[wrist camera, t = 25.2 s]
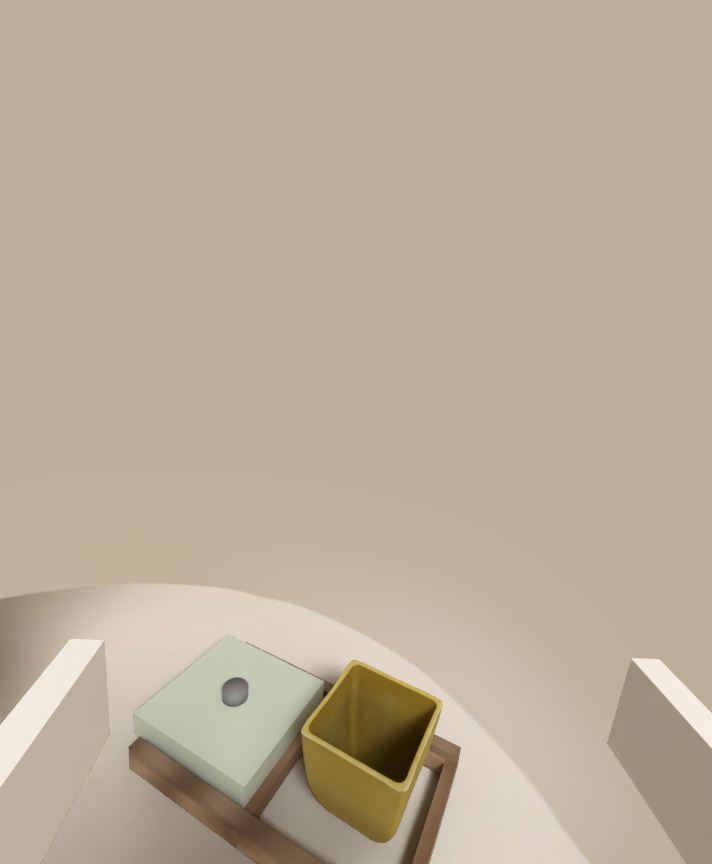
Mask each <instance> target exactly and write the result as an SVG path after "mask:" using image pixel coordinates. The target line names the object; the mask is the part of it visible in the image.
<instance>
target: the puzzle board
mask: <svg viewBox="0 0 712 864" xmlns="http://www.w3.org/2000/svg"><path fill="white" fill-rule="evenodd" d="M246 643H247V642H246ZM248 644H249V643H248ZM250 645H251V644H250ZM252 646H253V645H252ZM254 647H255V646H254ZM256 648H257V647H256ZM258 649H259V648H258ZM260 650H261V649H260ZM262 651H263V650H262ZM264 652H265V651H264ZM266 653H267V652H266ZM268 654H269V653H268ZM270 655H272V654H270ZM272 656H274V655H272ZM274 657H276V656H274ZM276 658H278V657H276ZM278 659H280V658H278ZM280 660H282V659H280ZM282 661H284V660H282ZM284 662H286V661H284ZM286 663H288V662H286ZM288 664H290V663H288ZM290 665H292V664H290ZM292 666H294V665H292ZM294 667H296V666H294ZM296 668H298V667H296ZM298 669H300V668H298ZM300 670H302V669H300ZM302 671H304V670H302ZM304 672H306V671H304ZM306 673H308V672H306ZM308 674H310V673H308ZM311 675H312V674H311ZM313 676H314V675H313ZM315 677H316V676H315ZM317 678H318V677H317ZM319 679H320V678H319ZM321 680H322V679H321ZM323 681H324V680H323ZM333 686H334V685H333V684H331V683H329V682H326V681H324V691H323V699H324V698H325V697H326V696H327V694H328V693H329V692H330V690H331V689H332V687H333ZM322 701H323V700H322ZM322 701H321V702H322ZM321 702H320V703H321ZM318 706H319V705H318ZM460 749H461V747H459V746H457V745H455V744H453V743H451V742H449V741H447V740H445V739H443V738H441V737H438V736H436V735H434V736H433V739H432V742H431V745H430V748H429V751H428V754H427V756H426V759H425V761H424V763H423V766H425V767H427V768H429V769H431V770H433V771H434V772H436V773H438V774H440V778H439V781H438V785H437V788H436V791H435V794H434V797H433V800H432V803H431V806H430V809H429V813H428V816H427V819H426V822H425V825H424V828H423V831H422V834H421V837H420V840H419V844H418V847H417V850H416V853H415V856H414V859H413V862H412V864H429V863H430V860H431V856H432V853H433V849H434V846H435V842H436V839H437V835H438V832H439V828H440V825H441V822H442V818H443V815H444V811H445V808H446V804H447V801H448V797H449V794H450V790H451V787H452V783H453V780H454V777H455V773H456V770H457V766H458V760H459V755H460ZM302 753H303V749H302V737H301V730H300V731H299V733H298V734H297V736H296V737H295V738H294V740H293V741H292V742H291V744H290V745H289V747H288V748H287V749H286V751H285V752H284V754H283V755H282V756H281V758H280V759H279V760H278V762H277V763H276V765H275V766H274V767H273V769H272V770H271V772H270V773H269V774H268V776H267V777H266V778H265V780H264V781H263V783H262V784H261V785H260V787H259V788H258V790H257V791H256V792H255V794H254V795H253V796H252V798H251V799H250V801H249V802H248V803H247V805H246V806H245V808H244V809H243V808H242V807H240V806H239V805H237V804H236V803H235V802H233V801H232V800H230V799H229V798H227V797H226V796H224V795H223V794H222V793H220V792H219V791H217V790H216V789H214V788H213V787H212V786H210V785H209V784H207V783H206V782H204V781H203V780H201V779H200V778H199V777H197V776H196V775H194V774H193V773H191V772H190V771H189V770H187V769H186V768H184V767H183V766H181V765H180V764H178V763H177V762H176V761H174V760H173V759H171V758H170V757H168V756H167V755H166V754H164V753H163V752H161V751H160V750H158V749H157V748H155V747H154V746H153V745H151V744H150V743H148V742H147V741H145V740H144V739H142V738H141V737H139V738H138V739H137V740H136V741H135V742H134V743H133V744H132V745H131V746H129V765H130V769H131V770H133V771H134V772H135V773H137V774H138V775H139V776H141V777H142V778H143V779H145V780H146V781H147V782H149V783H150V784H151V785H153V786H154V787H155V788H157V789H158V790H159V791H161V792H162V793H163V794H165V795H166V796H167V797H169V798H170V799H171V800H173V801H174V802H175V803H177V804H178V805H179V806H181V807H182V808H183V809H185V810H186V811H187V812H189V813H190V814H191V815H193V816H194V817H195V818H197V819H198V820H199V821H201V822H202V823H203V824H205V825H206V826H207V827H209V828H210V829H211V830H213V831H214V832H215V833H217V834H218V835H219V836H221V837H222V838H223V839H225V840H226V841H227V842H229V843H230V844H231V845H233V846H234V847H235V848H237V849H238V850H239V851H241V852H242V853H243V854H245V855H246V856H247V857H249V858H250V859H251V860H253V861H254V862H255V863H257V864H322V863H321V862H319V861H318V860H316V859H315V858H313V857H312V856H310V855H309V854H308V853H306V852H305V851H303V850H302V849H300V848H299V847H298V846H296V845H295V844H293V843H292V842H290V841H289V840H287V839H286V838H285V837H283V836H282V835H280V834H279V833H277V832H276V831H275V830H273V829H272V828H270V827H269V826H267V825H266V824H264V823H263V822H262V821H260V820H259V819H258V818H259V817H260V815H261V814H262V812H263V811H264V809H265V808H266V806H267V805H268V803H269V802H270V800H271V799H272V797H273V796H274V794H275V793H276V791H277V790H278V789H279V787H280V786H281V784H282V783H283V781H284V780H285V778H286V777H287V775H288V774H289V772H290V771H291V769H292V768H293V766H294V765H295V763H296V762H297V760H298V759H299V757H300V756H301V755H302Z"/></svg>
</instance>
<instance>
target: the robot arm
mask: <svg viewBox="0 0 712 864" xmlns="http://www.w3.org/2000/svg"><path fill="white" fill-rule="evenodd" d="M109 734H110V729H109V712H108V694H107V676H106V659H105V641H104V640H86V639H70V640H69V641H68V643H67V644H66V645H65V646H64V648H63V649H62V650H61V651H60V652H59V654H58V655H57V656H56V657H55V659H54V660H53V661H52V662H51V663H50V665H49V666H48V667H47V668H46V670H45V671H44V672H43V673H42V674H41V676H40V677H39V678H38V679H37V681H36V682H35V683H34V684H33V685H32V687H31V688H30V689H29V690H28V692H27V693H26V694H25V695H24V696H23V698H22V699H21V700H20V701H19V703H18V704H17V705H16V706H15V708H14V709H13V710H12V711H11V712H10V714H9V715H8V716H7V717H6V719H5V720H4V721H3V722H2V723H1V725H0V864H41V862H42V860H43V858H44V856H45V854H46V853H47V851H48V849H49V847H50V845H51V843H52V841H53V839H54V838H55V836H56V834H57V832H58V830H59V828H60V826H61V824H62V823H63V821H64V819H65V817H66V815H67V813H68V811H69V809H70V808H71V806H72V804H73V802H74V800H75V798H76V796H77V794H78V793H79V791H80V789H81V787H82V785H83V783H84V781H85V779H86V778H87V776H88V774H89V772H90V770H91V768H92V766H93V764H94V763H95V761H96V759H97V757H98V755H99V753H100V751H101V749H102V748H103V746H104V744H105V742H106V740H107V738H108V736H109ZM607 744H608V745H609V747H610V748H611V750H612V751H613V753H614V754H615V756H616V757H617V759H618V760H619V762H620V764H621V765H622V767H623V768H624V770H625V771H626V773H627V774H628V776H629V777H630V779H631V780H632V782H633V783H634V785H635V786H636V788H637V789H638V791H639V792H640V794H641V795H642V797H643V799H644V800H645V802H646V803H647V805H648V806H649V808H650V809H651V811H652V812H653V814H654V815H655V817H656V818H657V820H658V821H659V823H660V824H661V826H662V828H663V829H664V830H665V832H666V834H667V835H668V837H669V838H670V840H671V841H672V843H673V844H674V846H675V847H676V849H677V850H678V852H679V853H680V855H681V856H682V858H683V859H684V861H685V863H686V864H712V713H711V712H710V711H709V710H708V709H707V708H706V707H705V706H704V705H703V704H702V703H701V702H700V701H699V700H698V699H697V698H696V697H695V696H694V695H693V694H692V693H691V692H690V691H689V690H688V688H686V686H685V685H684V684H683V683H682V682H681V681H680V680H679V679H678V678H677V677H676V676H675V675H674V674H673V673H672V672H671V671H670V670H669V669H668V668H667V667H666V666H665V665H664V664H663V663H662V662H661V661H660V660H659V659H635V658H631V662H630V665H629V668H628V672H627V676H626V679H625V682H624V686H623V689H622V693H621V696H620V700H619V704H618V707H617V710H616V714H615V717H614V721H613V725H612V728H611V732H610V735H609V738H608V742H607Z"/></svg>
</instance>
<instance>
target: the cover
mask: <svg viewBox="0 0 712 864" xmlns="http://www.w3.org/2000/svg"><path fill="white" fill-rule="evenodd" d="M323 691H324V681H323V680H321V679H319V678H317V677H315V676H313V675H311V674H308V673H306V672H304V671H302V670H300V669H298V668H296V667H294V666H292V665H290V664H288V663H286V662H284V661H282V660H280V659H278V658H276V657H274V656H272V655H270V654H268V653H266V652H264V651H262V650H260V649H258V648H256V647H254V646H252V645H250V644H248V643H245V642H243V641H241V640H239V639H237V638H235V637H233V636H231V635H228V636H226V637H225V638H224V639H223V640H221V641H220V642H219V643H218V644H217V645H215V646H214V647H213V648H212V649H211V650H209V651H208V652H207V653H206V654H205V655H203V656H202V657H201V658H200V659H199V660H197V661H196V662H195V663H194V664H193V665H191V666H190V667H189V668H188V669H186V670H185V671H184V672H183V673H182V674H180V675H179V676H178V677H177V678H176V679H174V680H173V681H172V682H171V683H170V684H168V685H167V686H166V687H165V688H164V689H162V690H161V691H160V692H159V693H157V694H156V695H155V696H154V697H153V698H151V699H150V700H149V701H148V702H147V703H145V704H144V705H143V706H142V707H141V708H139V709H138V710H137V711H136V712H135V713H134V730H135V734H137V735H138V736H140V737H141V738H143V739H144V740H145V741H147V742H148V743H150V744H151V745H153V746H154V747H155V748H157V749H158V750H160V751H161V752H163V753H164V754H166V755H167V756H168V757H170V758H171V759H173V760H174V761H176V762H177V763H178V764H180V765H181V766H183V767H184V768H186V769H187V770H189V771H190V772H191V773H193V774H194V775H196V776H197V777H199V778H200V779H201V780H203V781H204V782H206V783H207V784H209V785H210V786H212V787H213V788H214V789H216V790H217V791H219V792H220V793H222V794H223V795H224V796H226V797H227V798H229V799H230V800H232V801H233V802H235V803H236V804H237V805H239V806H240V807H242V808H243V809H244V808H245V806H246V805H247V803H248V802H249V801H250V799H251V798H252V796H253V795H254V794H255V792H256V791H257V790H258V788H259V787H260V785H261V784H262V783H263V781H264V780H265V778H266V777H267V776H268V774H269V773H270V772H271V770H272V769H273V767H274V766H275V765H276V763H277V762H278V760H279V759H280V758H281V756H282V755H283V754H284V752H285V751H286V749H287V748H288V747H289V745H290V744H291V742H292V741H293V740H294V738H295V737H296V736H297V734H298V733H299V731H300V730H301V729H302V727H303V725H304V724H305V722H306V721H307V719H308V718H309V717H310V716H311V715H312V713H313V712H314V711H315V709H316V708H317V707H318V705H319V704H320V702H321V701H322V700H323Z"/></svg>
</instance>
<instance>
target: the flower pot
mask: <svg viewBox="0 0 712 864" xmlns="http://www.w3.org/2000/svg"><path fill="white" fill-rule="evenodd" d="M441 709H442V701H441V700H440V699H438V698H436V697H434V696H432V695H430V694H428V693H426V692H424V691H422V690H419V689H417V688H415V687H413V686H411V685H409V684H406V683H404V682H402V681H400V680H398V679H395V678H393V677H391V676H389V675H387V674H385V673H383V672H381V671H379V670H377V669H375V668H373V667H371V666H369V665H366V664H364V663H362V662H359V661H355V660H353V661H351V662H350V663H349V665H348V666H347V667H346V669H345V670H344V672H343V673H342V675H341V676H340V678H339V679H338V680H337V682H336V683H335V685H334V686H333V687H332V689H331V690H330V692H329V693H328V694H327V696H326V697H325V698H324V699H323V701H322V702H321V703H320V704H319V706H318V707H317V708H316V709H315V711H314V712H313V713H312V715H311V716H310V717H309V718H308V719H307V721H306V722H305V724H304V725H303V727H302V729H301V737H302V749H303V758H304V767H305V774H306V779H307V782H308V785H309V787H310V789H311V791H312V793H313V794H314V796H315V797H316V798H317V800H318V801H319V802H320V803H321V804H322V805H323V806H324V807H325V808H326V809H327V810H328V811H329V812H331V813H332V814H334V815H335V816H337V817H338V818H340V819H341V820H343V821H344V822H346V823H347V824H349V825H351V826H352V827H354V828H355V829H357V830H358V831H359V832H361V833H362V834H364V835H365V836H367V837H368V838H370V839H371V840H373V841H375V842H378V843H385V842H387V841H389V840H390V839H391V838H392V837H393V836H394V834H395V833H396V831H397V829H398V826H399V824H400V822H401V819H402V816H403V813H404V811H405V808H406V805H407V803H408V800H409V798H410V795H411V793H412V790H413V788H414V785H415V783H416V780H417V778H418V775H419V773H420V770H421V768H422V766H423V763H424V761H425V759H426V756H427V754H428V751H429V748H430V745H431V742H432V739H433V736H434V732H435V729H436V726H437V722H438V719H439V716H440V712H441Z"/></svg>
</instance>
